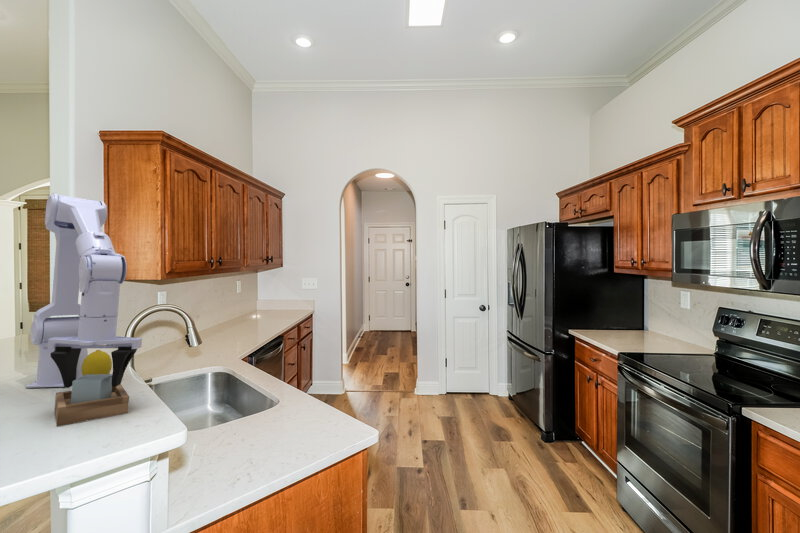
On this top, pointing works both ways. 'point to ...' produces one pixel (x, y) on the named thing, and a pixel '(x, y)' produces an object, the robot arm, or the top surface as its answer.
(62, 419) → the walnut base
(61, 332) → the robot arm
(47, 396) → the top surface
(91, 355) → the lemon
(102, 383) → the block
